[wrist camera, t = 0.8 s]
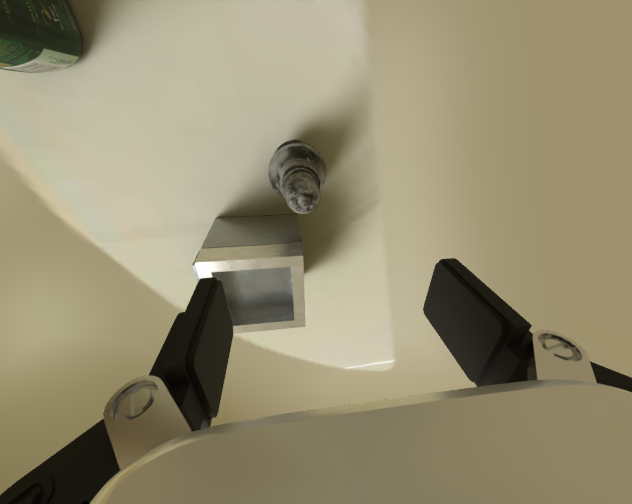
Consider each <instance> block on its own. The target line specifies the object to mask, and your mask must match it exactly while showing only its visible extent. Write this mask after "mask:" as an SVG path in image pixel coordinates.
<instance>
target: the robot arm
mask: <svg viewBox="0 0 632 504" xmlns="http://www.w3.org/2000/svg"><path fill="white" fill-rule="evenodd" d="M423 311H424V314H425V316H426V317H427V319H428V320H429V322H430V323H431V325H432V326H433V327H434V329H435V330H436V332H437V333H438V335H439V336H440V338H441V339H442V341H443V342H444V343H445V345H446V346H447V348H448V349H449V351H450V352H451V354H452V355H453V356H454V358H455V359H456V361H457V362H458V364H459V365H460V367H461V368H462V370H463V371H464V372H465V374H466V375H467V377H468V378H469V379H470V380H471V381H472V382H474V383H475V384H476V385H477V387H474V388H466V389H459V390H451V391H444V392H436V393H429V394H421V395H414V396H407V397H400V398H392V399H385V400H378V401H371V402H363V403H356V404H349V405H343V406H335V407H328V408H322V409H315V410H307V411H301V412H295V413H287V414H280V415H274V416H267V417H261V418H255V419H249V420H243V421H237V422H231V423H226V424H222V425H217V426H212V427H210V425H211V420H212V418H214V417H216V416H217V414H218V410H219V404H220V399H221V394H222V389H223V384H224V379H225V374H226V369H227V364H228V358H229V353H230V348H231V343H232V338H233V324H232V320H231V316H230V312H229V308H228V304H227V300H226V296H225V292H224V288H223V284H222V281H221V280H217V279H216V277H210V278H201V279H200V280H199V282H198V284H197V286H196V288H195V291H194V293H193V295H192V297H191V300H190V302H189V304H188V306H187V309H186V311H185V312H182V313H179V314H178V316H177V317H176V319H175V321H174V323H173V325H172V327H171V330H170V332H169V334H168V336H167V338H166V340H165V342H164V344H163V347H162V349H161V351H160V353H159V355H158V357H157V359H156V361H155V363H154V365H153V367H152V370H151V372H150V374H149V376H142V377H139V378H136V379H134V380H132V381H130V382H128V383H126V384H125V385H124V386H122V387H121V388H120V389H119V390H118V391H117V392H116V393H115V394H114V395H113V396H112V397H111V398H110V400H109V401H108V403H107V405H106V407H105V410H104V413H103V415H104V419H102V420H101V421H100V422H98V423H97V424H96V425H94V426H93V427H91V428H90V429H89V430H87V431H86V432H85V433H83V434H82V435H80V436H79V437H78V438H76V439H75V440H74V441H72V442H71V443H70V444H68V445H67V446H65V447H64V448H63V449H61V450H60V451H58V452H57V453H56V454H54V455H53V456H51V457H50V458H49V459H47V460H46V461H45V462H43V463H42V464H40V465H39V466H38V467H36V468H35V469H33V470H32V471H31V472H29V473H28V474H27V475H25V476H24V477H22V478H21V479H20V480H18V481H17V482H16V483H14V484H13V485H12V486H11V487H10V488H8V489H7V490H6V491H5V492H4V493H2V494H1V496H0V504H632V378H631V377H628V376H626V375H623V374H621V373H618V372H615V371H613V370H610V369H608V368H605V367H603V366H600V365H598V364H595V363H593V362H590V360H589V358H588V355H587V354H586V352H585V351H584V350H583V348H582V347H581V346H579V345H578V344H577V343H576V342H574V341H573V340H571V339H569V338H568V337H566V336H564V335H561V334H559V333H557V332H553V331H549V330H539V331H536V332H534V333H533V334H532V333H531V332H530V331H529V329H530V328H531V326H532V325H531V324H530V323H528V322H527V321H526V320H525V319H524V318H523V317H522V316H520V315H519V314H518V313H517V312H516V311H515V310H514V309H512V308H511V307H510V306H509V305H508V304H507V303H506V302H504V301H503V300H502V299H501V298H500V297H499V296H498V295H497V294H495V293H494V292H493V291H492V290H491V289H490V288H489V287H487V286H486V285H485V284H484V283H483V282H482V281H481V280H480V279H478V278H477V277H476V276H475V275H474V274H473V273H472V272H470V271H469V270H468V269H467V268H466V267H465V266H464V265H462V264H461V263H460V262H459V261H458V260H456V259H454V258H451V259H442V260H440V261H439V263H437V264H436V265H435V269H434V272H433V276H432V279H431V283H430V286H429V290H428V293H427V297H426V300H425V304H424V308H423Z"/></svg>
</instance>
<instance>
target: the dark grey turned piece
mask: <svg viewBox="0 0 632 504" xmlns="http://www.w3.org/2000/svg"><path fill="white" fill-rule="evenodd" d="M325 178H326V166H325V163H324V160H323V158H322V157H321V155H320V154H319V152H317V151H316V150H315V149H314V148H313V147H311V146H309V145H308V144H307V143H305V142H302V141H297V140H293V141H288V142H286V143H284V144H282V145H281V146H280V147H279V148H278V149H277V150H276V152H275V154H274V156H273V157H272V159H271V162H270V165H269V179H270V183H271V185H272V187H273V189H274V190H275V191H276V192H277V193H278V194H279V195H280V196H282V197H283V198H285V199H286V202H287V204H288V206H289V207H290V208H291V209H292V210H293V211H294V212H296V213H299V214H307V213H310V212H312V211H313V210H315V209H316V208H317V206H318V204H319V202H320V190H321V188H322V186H323V184H324V182H325Z"/></svg>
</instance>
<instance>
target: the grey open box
mask: <svg viewBox="0 0 632 504" xmlns="http://www.w3.org/2000/svg"><path fill="white" fill-rule="evenodd" d="M192 266H193V269H194V272H195V275H196V278H197V282H199V280H200V279H201V278H210V277H216V279H217V280H221V281H222V284H223V288H224V292H225V296H226V300H227V304H228V308H229V312H230V316H231V320H232V324H233V333H243V332H254V331H264V330H275V329H285V328H296V327H305V300H304V262H303V250H302V240H301V233H300V227H299V220H298V214H291V215H269V216H248V217H226V218H216V219H215V221H214V223H213V225H212V227H211V229H210V231H209V233H208V235H207V237H206V239H205V241H204V243H203V245H202V247H201V251H199V252H198V254H197V256H196V259H195V261H194V263H193V265H192Z"/></svg>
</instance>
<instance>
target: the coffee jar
mask: <svg viewBox="0 0 632 504" xmlns="http://www.w3.org/2000/svg"><path fill="white" fill-rule="evenodd" d="M81 51H82V40H81V35H80V32H79V29H78V26H77V24H76V21H75V19H74V16H73V14H72V12H71V10H70V7H69V5H68V3H67V1H66V0H0V69H4V70H11V71H18V72H29V73H43V72H53V71H57V70H61V69H64V68H67V67H69V66H71V65H73V64H74V63H75V62H77V60H78V59H79V57H80V55H81Z"/></svg>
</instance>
